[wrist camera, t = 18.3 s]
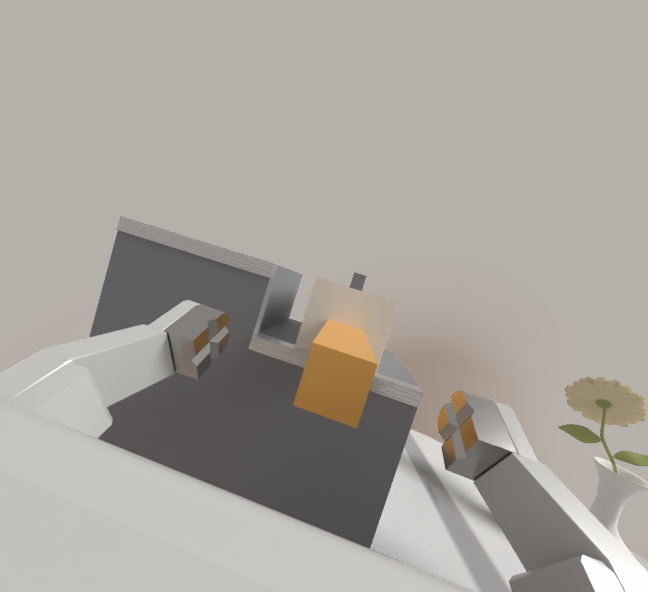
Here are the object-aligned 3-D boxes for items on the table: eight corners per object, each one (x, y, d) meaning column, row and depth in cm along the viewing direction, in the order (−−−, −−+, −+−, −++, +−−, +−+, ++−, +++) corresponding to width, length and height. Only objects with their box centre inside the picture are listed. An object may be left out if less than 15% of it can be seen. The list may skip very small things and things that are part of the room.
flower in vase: (656, 598, 31) (729, 416, 29) (653, 651, 24) (746, 422, 23) (530, 503, 41) (580, 368, 40) (505, 523, 35) (564, 364, 34)
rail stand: (343, 627, 19) (448, 317, 18) (45, 496, 21) (120, 216, 20) (345, 497, 31) (407, 307, 30) (154, 422, 34) (204, 244, 32)
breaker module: (401, 444, 10) (458, 276, 10) (251, 390, 11) (300, 229, 11) (366, 345, 29) (385, 286, 29) (312, 327, 30) (330, 269, 30)
